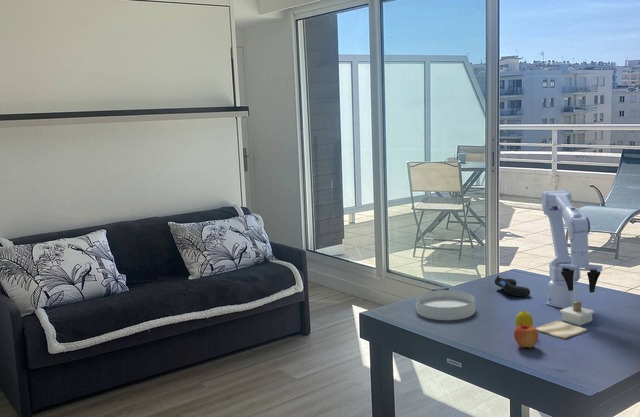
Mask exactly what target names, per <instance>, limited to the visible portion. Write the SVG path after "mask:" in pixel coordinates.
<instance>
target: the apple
mask: <svg viewBox="0 0 640 417" xmlns="http://www.w3.org/2000/svg"><path fill="white" fill-rule="evenodd" d="M513 337H514V340H515V342H516V343H517V345H518V346H519V347H521V348H522V349H524V348H528V349H532V348H533V347H534V346H535V345H536V343H537V342H538V341H539V340H538V339H539V331H537V329H536V327H535V326H534V325H533V326H530V325H522V323H521V325H519V326H517V327H515V329H514V332H513Z"/></svg>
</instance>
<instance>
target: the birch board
mask: <svg viewBox="0 0 640 417" xmlns="http://www.w3.org/2000/svg"><path fill="white" fill-rule="evenodd" d="M535 328H536V329H537V331H538V333H542V334H546V335H549V336H552V337H555V338H558V339H560V340H563V341H565V340H567V339H570V338H572V337H575V336H577V335H580V334H583V333H586V332H588V329H587V328H584V327H581V326H579V325H576V324H572V323H569V322H565V321H560V320H553V321H550V322H548V323H545V324H542V325H539V326H537V327H535Z"/></svg>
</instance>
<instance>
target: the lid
mask: <svg viewBox="0 0 640 417" xmlns="http://www.w3.org/2000/svg"><path fill="white" fill-rule="evenodd" d="M582 303H583V302H582V301H579V300H575V301H573V306H571V307H568V308H565V309H563V308H561V309H560V310H559V313H561V314H562V313H564V314H568V315H571V316H575V317H578V318H582V317H584V316H587V315H590V314H592V315H593V314H594V313H595V310H593V309H590V308H586V307H582Z"/></svg>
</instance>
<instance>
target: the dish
mask: <svg viewBox="0 0 640 417" xmlns="http://www.w3.org/2000/svg"><path fill="white" fill-rule="evenodd" d="M475 300H476V299H475V296H473V295H472V294H471V293H468V292H465V291H461V290H454V289H453V290H452V289H438V290H430V291H425V292H422V293H420V294H419V295H418V296H416V304H415V308H416V309H415V311H416V313H417V315H419V316H421V317H423V318H426V319H431V320H436V321H437V320H438V321H455V320H462V319H463V320H464V319H466V318H469V317H471V316H473V315H475V313H476V303H475V302H476V301H475Z"/></svg>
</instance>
